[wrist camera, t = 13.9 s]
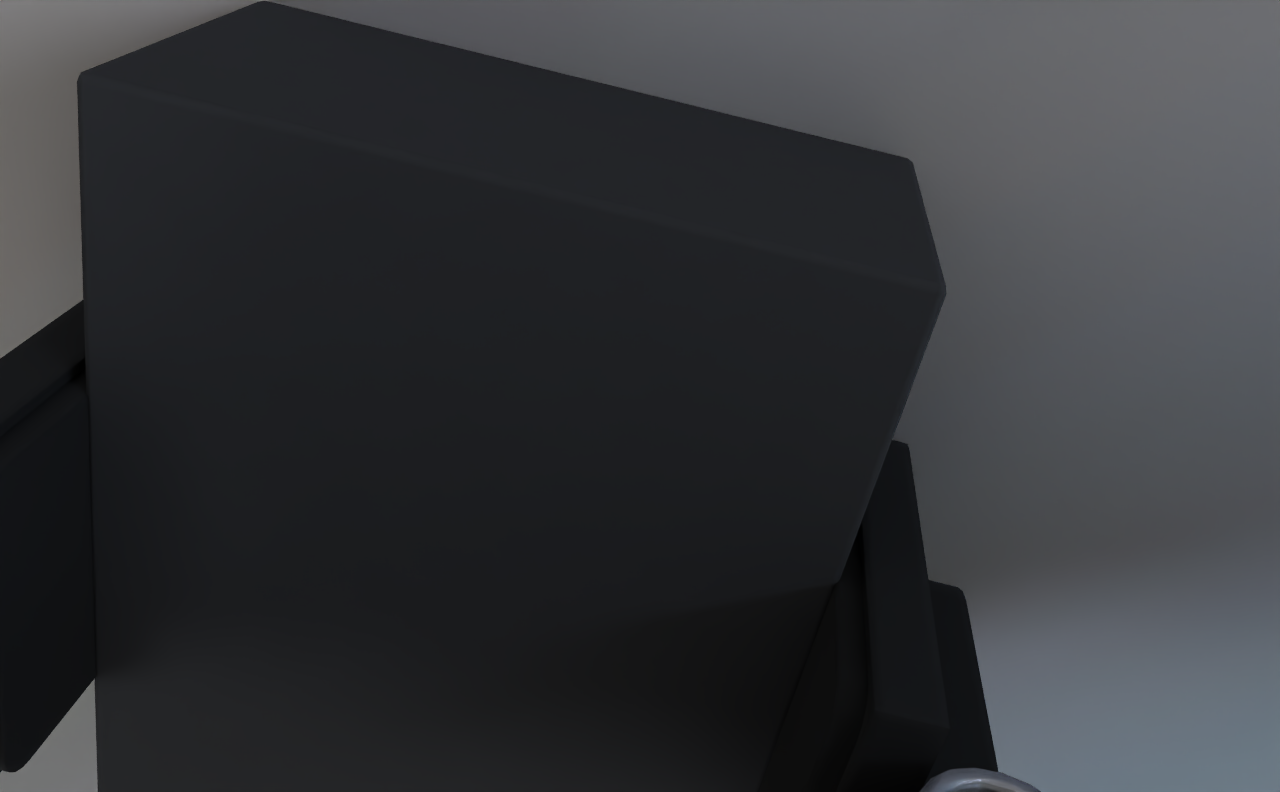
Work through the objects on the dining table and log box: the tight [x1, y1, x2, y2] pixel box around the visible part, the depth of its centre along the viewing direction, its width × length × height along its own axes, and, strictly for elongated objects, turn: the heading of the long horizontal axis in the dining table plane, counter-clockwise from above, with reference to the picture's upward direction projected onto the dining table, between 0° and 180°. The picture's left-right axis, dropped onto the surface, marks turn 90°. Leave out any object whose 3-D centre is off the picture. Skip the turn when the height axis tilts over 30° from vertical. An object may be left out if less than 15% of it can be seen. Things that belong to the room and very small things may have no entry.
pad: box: [77, 1, 946, 792], centre depth 12 cm, size 11×6×3 cm, turn 168°
